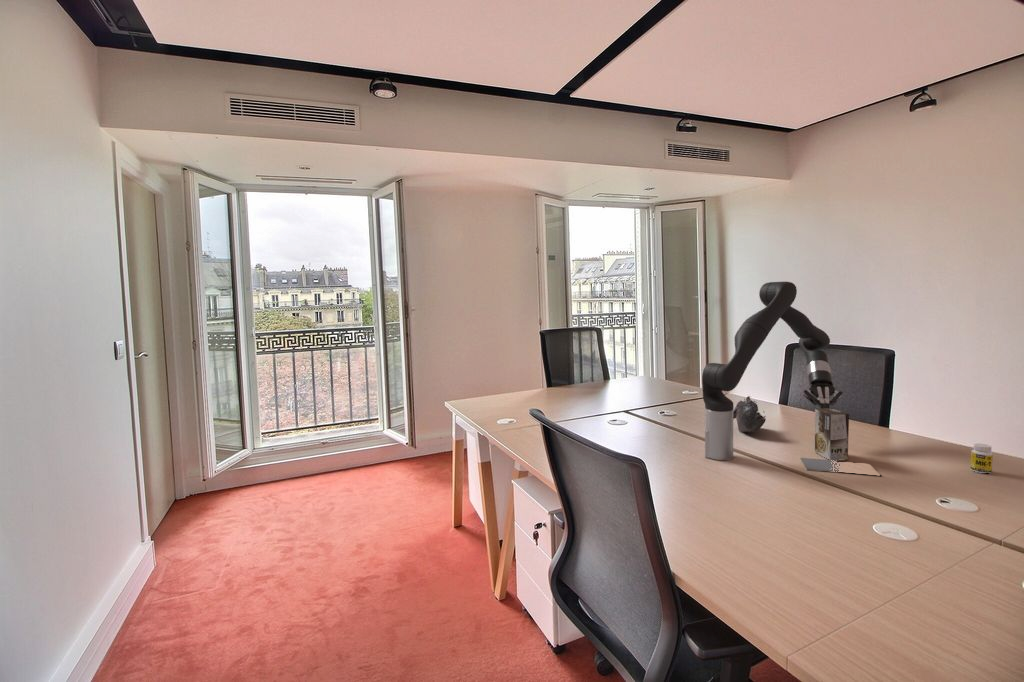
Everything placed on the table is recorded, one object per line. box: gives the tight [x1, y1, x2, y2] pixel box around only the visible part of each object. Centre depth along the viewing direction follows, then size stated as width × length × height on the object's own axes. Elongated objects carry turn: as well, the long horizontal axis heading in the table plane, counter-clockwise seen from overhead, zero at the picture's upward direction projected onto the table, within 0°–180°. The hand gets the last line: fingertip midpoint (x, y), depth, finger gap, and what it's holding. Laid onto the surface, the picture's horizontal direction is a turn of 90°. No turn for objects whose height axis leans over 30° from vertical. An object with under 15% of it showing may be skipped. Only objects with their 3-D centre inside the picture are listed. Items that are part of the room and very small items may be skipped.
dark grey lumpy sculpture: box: [733, 395, 767, 433], centre depth 200 cm, size 14×15×20 cm
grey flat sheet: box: [800, 457, 840, 472], centre depth 160 cm, size 20×12×1 cm, turn 68°
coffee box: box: [814, 407, 850, 461], centre depth 169 cm, size 9×6×16 cm
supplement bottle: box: [969, 442, 993, 474], centre depth 151 cm, size 5×5×8 cm
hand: (825, 414), depth 177 cm, fingers closed
